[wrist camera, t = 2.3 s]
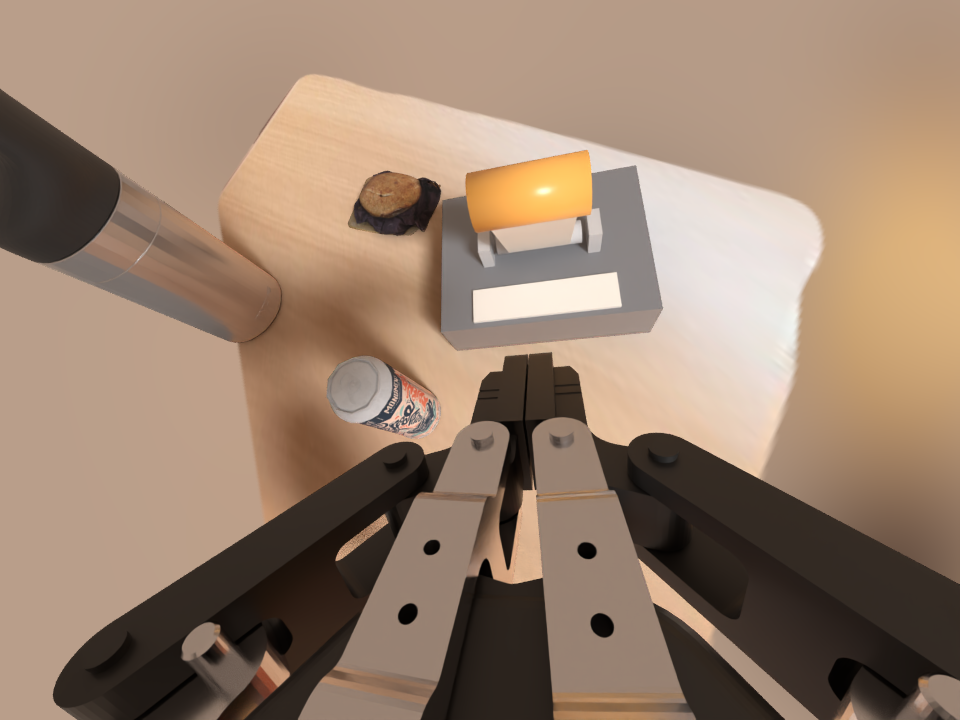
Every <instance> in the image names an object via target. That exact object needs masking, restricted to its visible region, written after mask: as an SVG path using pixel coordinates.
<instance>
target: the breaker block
mask: <svg viewBox="0 0 960 720" xmlns="http://www.w3.org/2000/svg"><path fill="white" fill-rule="evenodd" d="M591 176H592V211H591V215H587V216H581V217H577V219H576V220H581V226H582V243H576V244H569V245H562V246H555V247H548V248H541V249H535V250H528V251H521V252H514V253H507V254H500V255H498V252H497V248H496V239H495V235H494V234H493V232H492V231H487V232H480V233H476V232H475V230H474V228H473V226H472V222H471V219H470V214H469V209H468V204H467V196H464V197H459V198H453V199H448V200H443V203H442V290H441V333H442V334H443V335H444V336H445V337H446V339H447V340H448V341H449V342H450V343H451V344H452V346H453V347H454V348H455V349H456V350H457V351H458V350H469V349H479V348H489V347H500V346H510V345H521V344H531V343H542V342H552V341H563V340H573V339H583V338H594V337H604V336H615V335H625V334H636V333H646V332H650V331H651V329H652V327H653V326H654V324H655V322H656V320H657V318H658V317H659V315H660V313H661V311H662V309H663V307H662V301H661V296H660V291H659V285H658V280H657V275H656V269H655V264H654V259H653V253H652V248H651V243H650V237H649V232H648V227H647V221H646V216H645V211H644V205H643V200H642V195H641V189H640V184H639V179H638V174H637V168H636V165H635V166H630V167H624V168H619V169H613V170H608V171H602V172H597V173H591Z"/></svg>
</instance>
